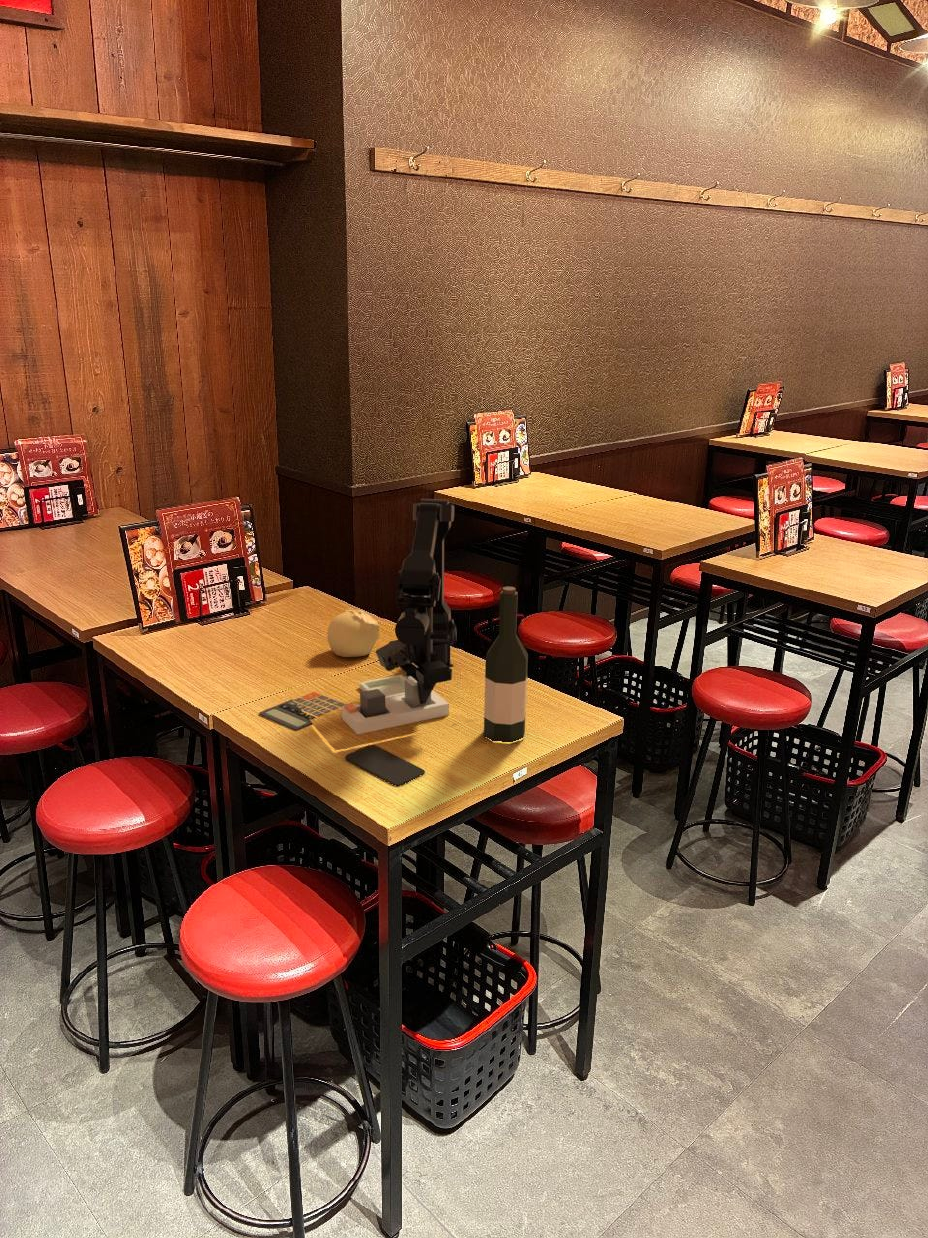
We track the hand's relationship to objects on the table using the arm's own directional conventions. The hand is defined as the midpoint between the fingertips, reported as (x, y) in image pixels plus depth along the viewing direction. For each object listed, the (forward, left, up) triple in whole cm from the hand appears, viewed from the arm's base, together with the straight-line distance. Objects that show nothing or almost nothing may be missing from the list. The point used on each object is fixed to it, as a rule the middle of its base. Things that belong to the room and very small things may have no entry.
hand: (418, 699), depth 184 cm
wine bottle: (-11, +16, -4) cm, 20 cm away
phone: (+15, +17, -4) cm, 23 cm away
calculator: (+20, -12, -4) cm, 24 cm away
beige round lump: (-1, -38, -4) cm, 38 cm away
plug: (0, 0, -1) cm, 1 cm away
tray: (+1, -12, -3) cm, 12 cm away
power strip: (+5, 0, -3) cm, 6 cm away
